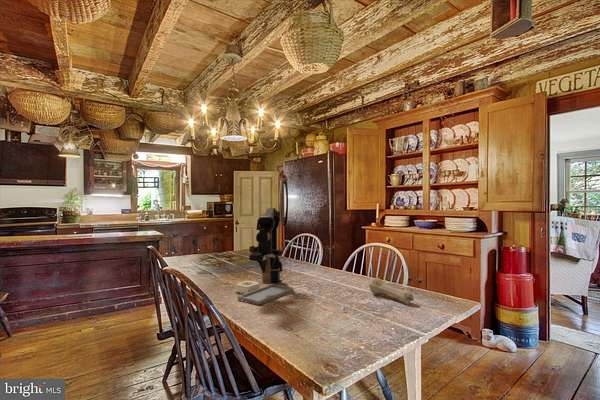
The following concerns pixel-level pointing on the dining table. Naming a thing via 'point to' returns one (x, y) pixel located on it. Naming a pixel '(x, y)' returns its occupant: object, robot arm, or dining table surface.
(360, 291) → the dining table surface
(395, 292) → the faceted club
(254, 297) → the tray
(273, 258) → the robot arm
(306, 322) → the dining table surface
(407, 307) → the dining table surface
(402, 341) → the dining table surface
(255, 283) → the square frame
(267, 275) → the pin
